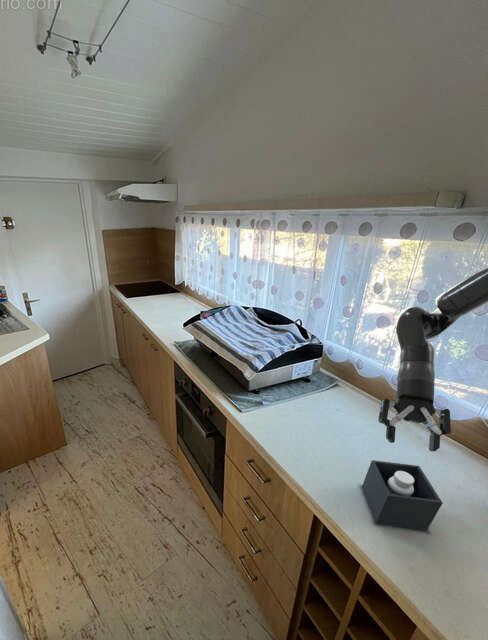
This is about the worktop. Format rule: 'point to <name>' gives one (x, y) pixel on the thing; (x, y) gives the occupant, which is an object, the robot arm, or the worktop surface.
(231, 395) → the worktop surface
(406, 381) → the robot arm
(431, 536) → the worktop surface
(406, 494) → the pill bottle
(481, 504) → the worktop surface
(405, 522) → the waste bin
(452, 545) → the worktop surface
